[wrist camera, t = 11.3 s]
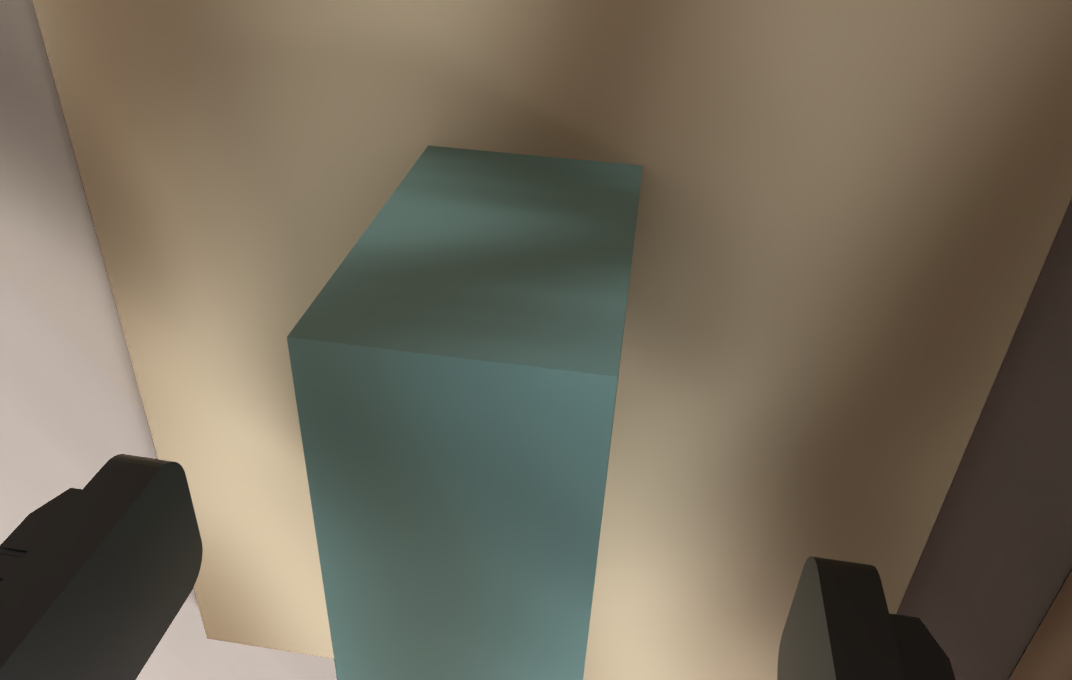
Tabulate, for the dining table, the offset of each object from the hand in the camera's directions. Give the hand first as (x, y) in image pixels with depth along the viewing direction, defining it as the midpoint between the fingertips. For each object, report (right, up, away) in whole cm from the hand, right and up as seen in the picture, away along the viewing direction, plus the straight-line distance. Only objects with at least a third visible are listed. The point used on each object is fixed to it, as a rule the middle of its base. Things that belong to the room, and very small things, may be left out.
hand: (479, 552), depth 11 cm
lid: (+1, +3, +4) cm, 5 cm away
